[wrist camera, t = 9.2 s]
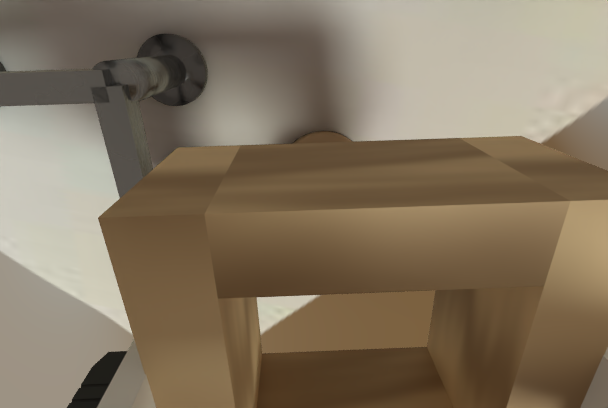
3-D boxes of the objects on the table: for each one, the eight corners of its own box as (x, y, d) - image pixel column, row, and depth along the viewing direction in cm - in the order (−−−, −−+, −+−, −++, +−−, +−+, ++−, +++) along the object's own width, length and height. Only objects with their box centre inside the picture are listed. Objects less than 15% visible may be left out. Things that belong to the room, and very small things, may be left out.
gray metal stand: (-75, 41, 20) (-303, 40, 13) (202, 32, 21) (146, 27, 13) (-2, 212, 25) (-135, 289, 17) (225, 203, 25) (194, 276, 17)
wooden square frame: (177, 147, 11) (98, 218, 7) (521, 136, 11) (673, 197, 7) (220, 388, 16) (190, 528, 11) (465, 378, 16) (535, 512, 11)
